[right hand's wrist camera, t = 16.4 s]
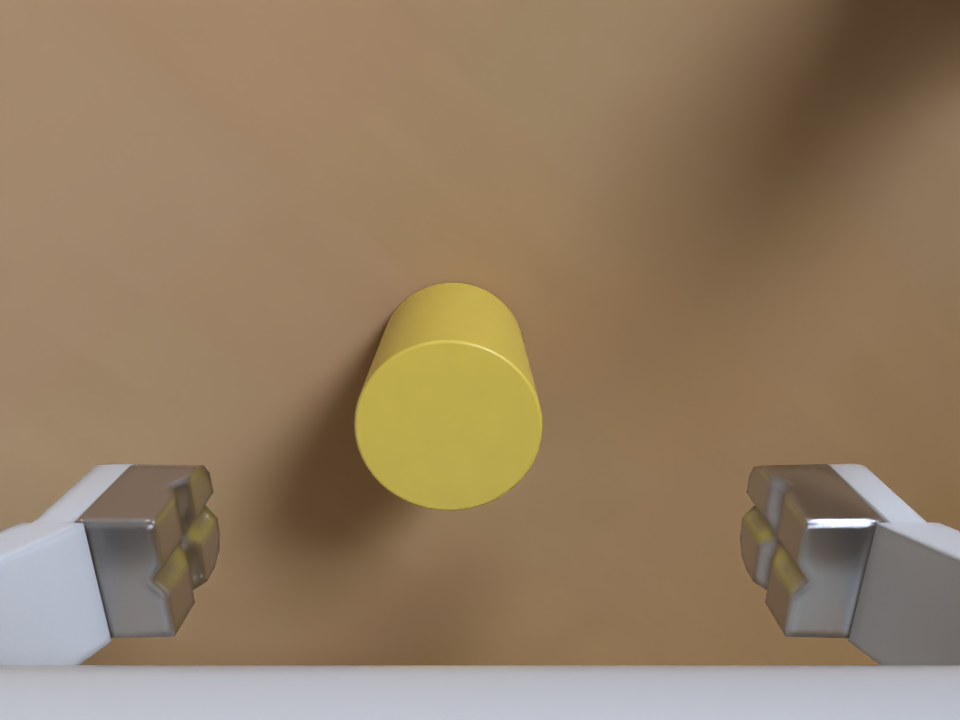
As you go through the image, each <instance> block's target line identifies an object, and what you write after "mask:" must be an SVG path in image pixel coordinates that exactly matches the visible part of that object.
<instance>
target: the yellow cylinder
mask: <svg viewBox="0 0 960 720" xmlns="http://www.w3.org/2000/svg"><path fill="white" fill-rule="evenodd" d="M542 425H543V423H542V412H541V408H540V404H539V400H538V396H537V392H536V388H535V384H534V381H533V377H532V373H531V369H530V365H529V362H528V358H527V354H526V350H525V346H524V342H523V339H522V335H521V331H520V328H519V326H518V323H517V321H516V319H515V318H514V316H513V314H512V313H511V312H510V310H509V309H508V308H507V307H506V306H505V305H504V303H503V302H502V301H500V300H499V299H498V298H497V297H495V296H494V295H492V294H491V293H489V292H487V291H486V290H483V289H481V288H478V287H476V286H472V285H469V284H462V283H442V284H436V285H432V286H429V287H426V288H424V289H421V290H419V291H418V292H416V293H414V294H412V295H411V296H410V297H408V298H407V299H406V300H404V301H403V302H402V303H401V304H400V305H399V306H398V308H397V309H396V310H395V311H394V313H393V314H392V316H391V318H390V320H389V321H388V324H387V326H386V329H385V331H384V334H383V336H382V339H381V342H380V344H379V347H378V349H377V352H376V355H375V357H374V360H373V362H372V365H371V367H370V370H369V373H368V375H367V378H366V380H365V383H364V386H363V388H362V391H361V393H360V396H359V398H358V402H357V406H356V410H355V419H354V429H355V437H356V443H357V446H358V449H359V452H360V455H361V457H362V459H363V461H364V463H365V465H366V466H367V468H368V469H369V471H370V472H371V473H372V475H373V476H374V477H375V478H376V479H377V480H378V482H379V483H380V484H381V485H383V486H384V487H385V488H386V489H387V490H388V491H390V492H391V493H393V494H394V495H396V496H397V497H399V498H401V499H403V500H405V501H407V502H409V503H412V504H415V505H418V506H421V507H425V508H429V509H436V510H462V509H468V508H473V507H477V506H480V505H483V504H486V503H488V502H490V501H492V500H495V499H497V498H498V497H500V496H502V495H503V494H505V493H506V492H508V491H509V490H510V489H511V488H512V487H514V486H515V485H516V484H517V483H518V482H519V481H520V480H521V479H522V478H523V476H524V475H525V474H526V472H527V471H528V470H529V468H530V467H531V465H532V463H533V461H534V459H535V457H536V455H537V452H538V449H539V447H540V442H541V437H542Z"/></svg>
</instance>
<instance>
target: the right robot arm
mask: <svg viewBox="0 0 960 720" xmlns="http://www.w3.org/2000/svg"><path fill="white" fill-rule="evenodd" d="M212 494H213V488H212V482H211V477H210V473H209V471H208V470H207V469H206V468H205V467H204V466H203V465H149V464H138V465H136V464H104V465H96V466H95V467H94V468H93V469H92V470H91V471H90V472H89V473H87V474H86V475H85V476H84V477H83V478H82V479H81V480H80V481H79V482H77V483H76V484H75V485H74V486H73V487H72V488H71V489H70V490H69V491H67V492H66V493H65V494H64V495H63V496H62V497H61V498H60V499H59V500H57V501H56V502H55V503H54V504H53V505H52V506H51V507H50V508H49V509H47V510H46V511H45V512H44V513H43V514H42V515H41V516H40V517H39V518H37V519H36V520H35V521H34V522H33V523H20V524H17V525H15V526H12V527H10V528H7V529H5V530H2V531H0V720H960V531H958V530H955V529H953V528H950V527H948V526H945V525H943V524H940V523H927V522H926V521H925V520H924V519H923V518H921V517H920V516H919V515H918V514H917V513H916V512H915V511H914V510H913V509H912V508H910V507H909V506H908V505H907V504H906V503H905V502H904V501H903V500H902V499H900V498H899V497H898V496H897V495H896V494H895V493H894V492H893V491H892V490H890V489H889V488H888V487H887V486H886V485H885V484H884V483H883V482H882V481H881V480H879V479H878V478H877V477H876V476H875V475H874V474H873V473H872V472H871V471H869V470H868V469H867V468H866V467H865V466H862V465H859V464H856V463H853V464H831V465H828V464H814V465H773V466H758V467H754V468H753V470H752V472H751V474H750V477H749V481H748V487H747V494H748V495H749V497H750V498H751V500H752V501H753V503H754V504H755V505H754V507H753V508H752V509H751V510H750V511H749V512H748V513H747V514H746V515H745V516H744V517H743V518H742V526H741V534H740V542H741V552H742V558H743V561H744V564H745V567H746V570H747V572H748V573H749V575H750V577H751V579H752V581H753V582H755V583H757V584H758V585H760V586H761V587H763V588H765V589H766V590H767V595H766V601H765V603H766V605H767V606H768V608H769V610H770V611H771V613H772V615H773V616H774V618H775V620H776V621H777V623H778V625H779V626H780V628H781V630H782V631H783V633H784V635H785V636H787V637H823V638H849V642H851V643H852V644H853V645H855V646H856V647H857V648H859V649H860V650H861V651H863V652H864V653H865V654H867V655H868V656H869V657H871V658H872V659H873V660H875V661H876V662H877V663H879V664H880V665H80V664H82V663H83V662H84V661H86V660H87V659H88V658H90V657H91V656H92V655H94V654H95V653H96V652H98V651H99V650H100V649H102V648H103V647H104V646H106V645H107V644H108V643H110V642H111V638H136V637H171V636H175V635H176V633H177V632H178V630H179V628H180V626H181V625H182V623H183V621H184V620H185V618H186V616H187V615H188V613H189V611H190V610H191V608H192V606H193V605H194V603H195V601H194V595H193V590H194V589H195V588H197V587H199V586H200V585H202V584H203V583H205V582H207V581H208V579H209V577H210V575H211V573H212V571H213V570H214V568H215V564H216V560H217V556H218V552H219V540H220V532H219V525H218V518H217V517H216V516H215V515H214V514H213V513H212V512H211V511H210V510H209V509H208V508H207V507H206V505H205V504H206V503H207V501H208V500H209V498H210V497H211V495H212Z"/></svg>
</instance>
